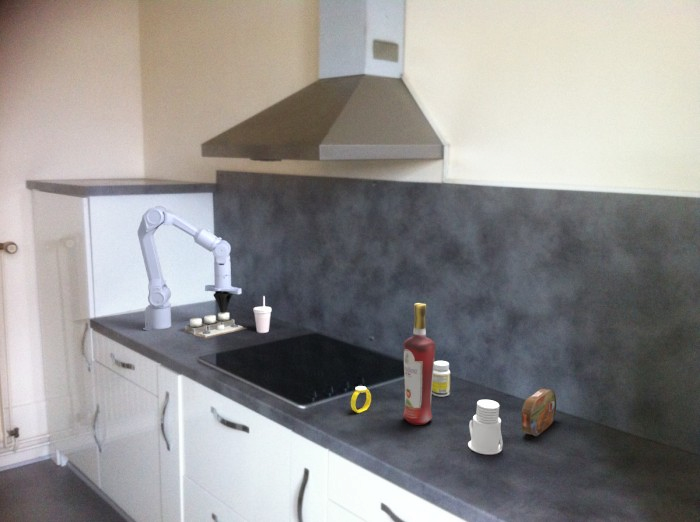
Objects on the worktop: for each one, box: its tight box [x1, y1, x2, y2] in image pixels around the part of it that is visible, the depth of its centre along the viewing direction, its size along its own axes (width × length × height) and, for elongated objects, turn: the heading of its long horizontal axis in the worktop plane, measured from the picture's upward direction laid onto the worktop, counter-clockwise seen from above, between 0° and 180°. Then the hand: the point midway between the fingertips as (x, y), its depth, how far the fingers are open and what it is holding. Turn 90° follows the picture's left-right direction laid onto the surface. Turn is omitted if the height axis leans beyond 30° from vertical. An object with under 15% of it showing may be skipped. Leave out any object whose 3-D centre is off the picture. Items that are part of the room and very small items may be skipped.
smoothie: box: [252, 295, 273, 334], centre depth 225 cm, size 6×6×14 cm
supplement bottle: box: [432, 360, 451, 398], centre depth 169 cm, size 5×5×8 cm
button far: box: [217, 311, 230, 321], centre depth 233 cm, size 4×4×2 cm
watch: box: [350, 385, 372, 414], centre depth 157 cm, size 6×3×6 cm, turn 136°
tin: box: [521, 388, 557, 437], centre depth 147 cm, size 15×3×8 cm, turn 142°
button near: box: [189, 317, 203, 327], centre depth 224 cm, size 4×4×2 cm
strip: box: [198, 324, 244, 337], centre depth 225 cm, size 4×16×2 cm, turn 139°
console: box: [181, 317, 248, 339], centre depth 227 cm, size 14×18×4 cm
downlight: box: [467, 399, 504, 455], centre depth 137 cm, size 8×7×10 cm
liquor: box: [402, 302, 436, 426], centre depth 150 cm, size 7×7×28 cm
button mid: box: [203, 314, 217, 324], centre depth 228 cm, size 4×4×2 cm
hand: (223, 312), depth 232 cm, fingers closed
